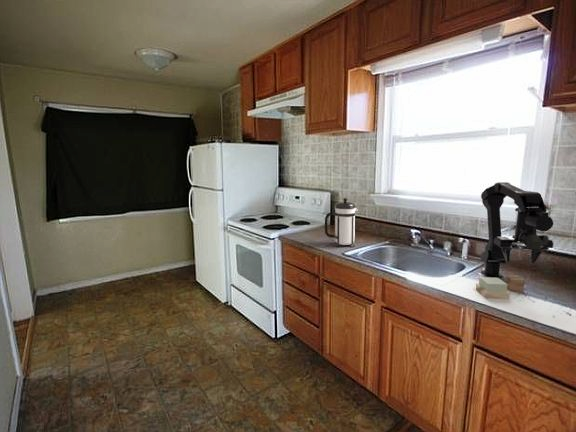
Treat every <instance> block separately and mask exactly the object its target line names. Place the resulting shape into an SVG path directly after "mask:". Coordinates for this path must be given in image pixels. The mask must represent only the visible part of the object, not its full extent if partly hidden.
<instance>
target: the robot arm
mask: <svg viewBox="0 0 576 432" xmlns="http://www.w3.org/2000/svg"><path fill="white" fill-rule="evenodd" d="M506 197H508V198H510V199H512V200H513V203H514V204H515V205H516V206H517V207H516V208H515V209H514V211H515V212H517V214H516V216H517V217H516V224H515V225H513V229H515V230H514V231H515V232H514V235H512V238H509V237H506V236H502V222H501V220H502V219H501V210H500V209H501V208H502V205H504V201H505V198H506ZM480 199H481V200H482V201H481V202H482V206H483V207H485V209H486V211H487V215H486V216H487V226H488V227H487V232H488V242H487V243H486V244H485V246H484V251H483V252H482V253H481V254H480V261H482V262H483V263H484V264H485V265H484V270H481V271H480V272H481V273H482V274H483V275H484V276H485V277H491V278H503V275H502V274H501V273H500V267H501V264H506V263H507V264H508V263H510V258H511V257H510V256H511V251H512V250H513V248H512V246H513V245H524V246H525V247H526V249H529V250H531V252H530V255H531V256H530V263H531V264H535V263H536V261H537V259H538V258H539V256H540V255H541V254H542V253H543V252H544V251H549V250H550V249H553V248H554V241H553V240H552V239H550V238H549V236H548V235H546V234H543V235H541V234H540V235H538V233H537V231H539V232H548V231H549V230H551V229H552V228H553V226H554V220H553V218H552V217H551V216H549V212H547V206H546V204H545V202H544V199H543V197H542V195H541V193H539V192H536V191H532V190H531V191H528V190H523V189H521V188H520V187H517V186H515V185H513V184H511V183H510V182H507V181H499V182H495V184H493V185H491V186H489V187H486V189H484V190H483V191H482V192H481V195H480Z"/></svg>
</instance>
